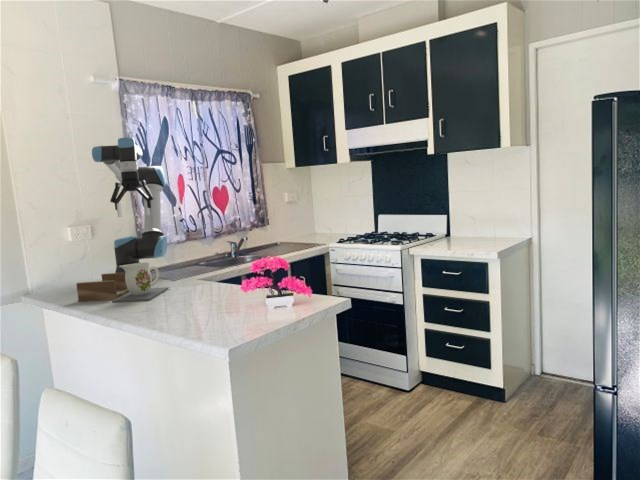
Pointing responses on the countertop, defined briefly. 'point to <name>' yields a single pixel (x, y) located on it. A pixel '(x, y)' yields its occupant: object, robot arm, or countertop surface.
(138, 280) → the pitcher
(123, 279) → the walnut cradle
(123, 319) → the countertop surface
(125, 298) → the rubber mat
